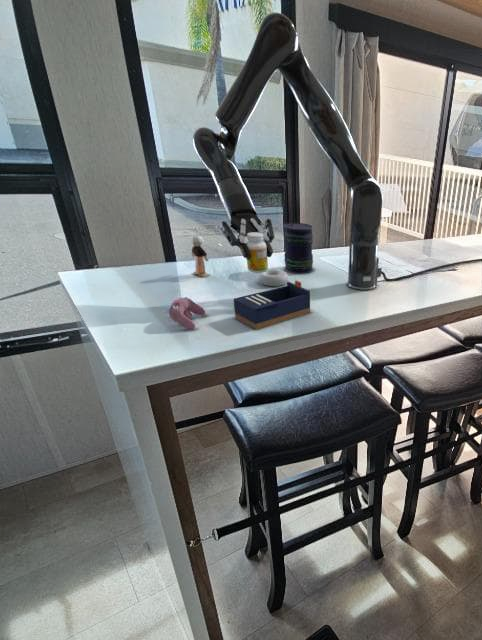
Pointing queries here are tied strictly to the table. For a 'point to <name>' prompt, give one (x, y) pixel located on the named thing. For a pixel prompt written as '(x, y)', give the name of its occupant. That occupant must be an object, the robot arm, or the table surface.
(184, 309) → the video game controller
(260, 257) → the supplement bottle
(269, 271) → the donut
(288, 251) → the storage jar
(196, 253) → the grandmother figurine
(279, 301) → the navy storage tray
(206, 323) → the table surface
